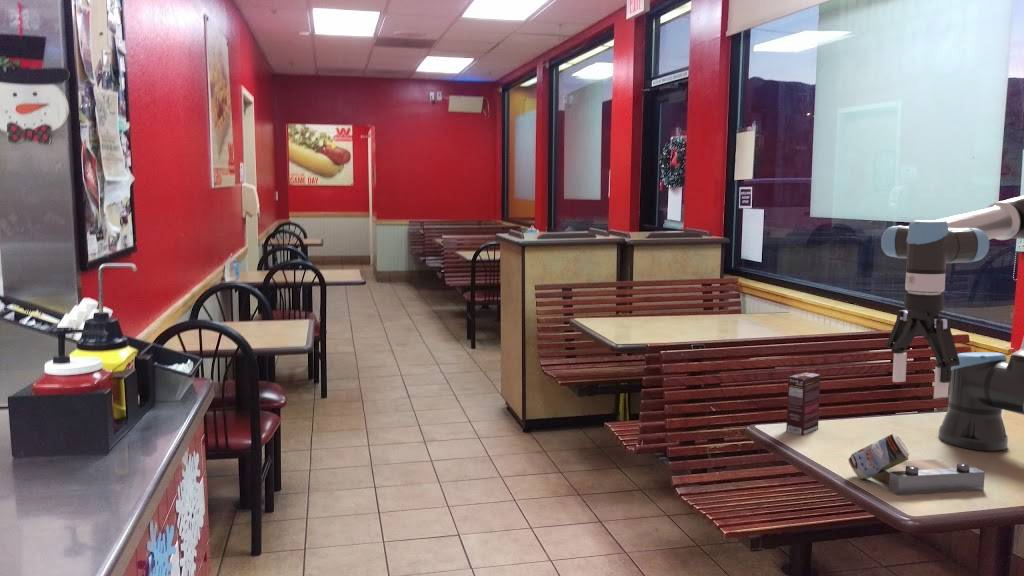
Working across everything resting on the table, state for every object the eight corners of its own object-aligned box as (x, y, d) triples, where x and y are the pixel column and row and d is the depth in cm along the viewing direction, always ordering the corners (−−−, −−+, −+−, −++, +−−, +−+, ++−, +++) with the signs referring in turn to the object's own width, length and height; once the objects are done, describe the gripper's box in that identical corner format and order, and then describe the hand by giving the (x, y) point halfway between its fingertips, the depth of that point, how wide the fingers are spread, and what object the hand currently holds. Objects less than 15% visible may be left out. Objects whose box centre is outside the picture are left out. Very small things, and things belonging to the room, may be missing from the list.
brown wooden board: (934, 472, 177) (935, 459, 177) (966, 488, 167) (967, 474, 167) (870, 475, 174) (871, 462, 174) (899, 492, 165) (900, 478, 164)
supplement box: (801, 429, 207) (804, 371, 206) (818, 433, 204) (821, 374, 202) (784, 435, 202) (787, 376, 200) (801, 440, 198) (804, 379, 196)
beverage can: (907, 447, 162) (852, 470, 166) (916, 466, 166) (862, 487, 170) (894, 425, 167) (840, 447, 171) (903, 444, 171) (851, 465, 175)
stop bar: (973, 484, 167) (974, 461, 167) (983, 490, 164) (985, 466, 164) (888, 489, 164) (890, 466, 164) (897, 495, 161) (899, 471, 161)
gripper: (872, 286, 177) (868, 376, 180) (949, 300, 153) (943, 405, 155) (902, 285, 179) (897, 375, 181) (983, 299, 154) (977, 403, 157)
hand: (919, 389), depth 168 cm, fingers open, 13 cm apart
